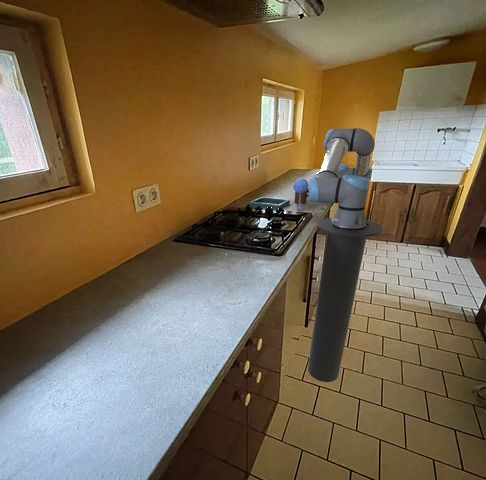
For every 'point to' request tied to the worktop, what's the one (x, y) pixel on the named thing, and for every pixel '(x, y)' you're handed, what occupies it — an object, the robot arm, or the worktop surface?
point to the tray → (269, 203)
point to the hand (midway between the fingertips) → (303, 193)
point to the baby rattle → (300, 188)
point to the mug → (303, 197)
